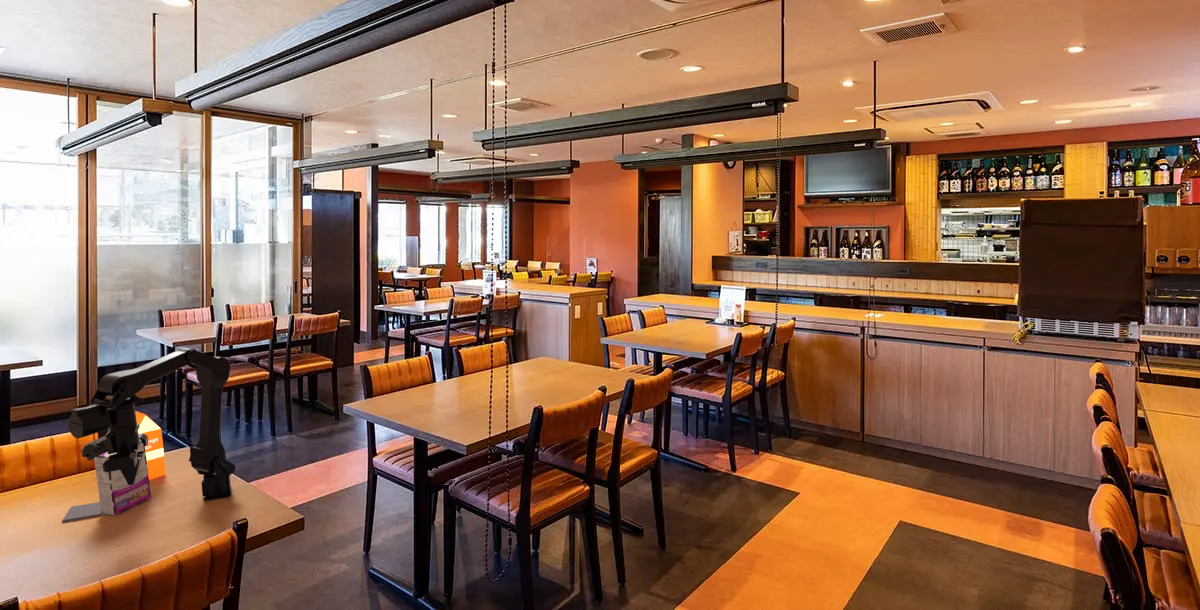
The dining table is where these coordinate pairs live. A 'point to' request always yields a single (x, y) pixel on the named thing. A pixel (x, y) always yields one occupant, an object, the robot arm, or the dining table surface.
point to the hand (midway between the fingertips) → (131, 484)
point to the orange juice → (152, 446)
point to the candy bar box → (121, 486)
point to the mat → (83, 512)
